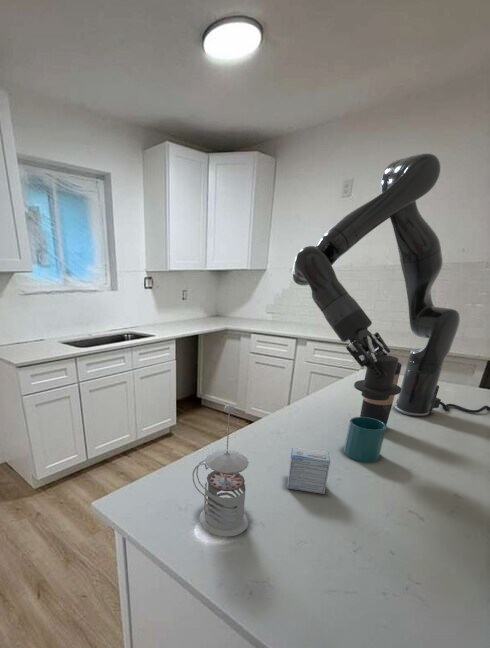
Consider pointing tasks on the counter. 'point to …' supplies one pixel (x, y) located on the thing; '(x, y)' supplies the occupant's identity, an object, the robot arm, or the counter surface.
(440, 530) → the counter surface
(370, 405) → the travel mug
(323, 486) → the medicine box
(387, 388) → the dark grey top hat
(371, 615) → the counter surface
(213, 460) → the french press
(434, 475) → the counter surface
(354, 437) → the cup
